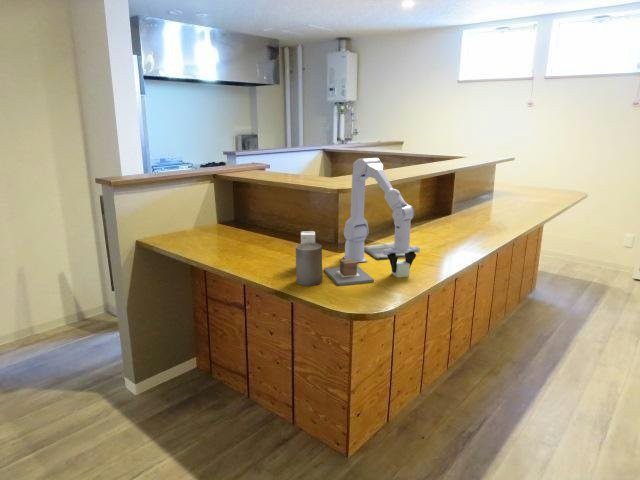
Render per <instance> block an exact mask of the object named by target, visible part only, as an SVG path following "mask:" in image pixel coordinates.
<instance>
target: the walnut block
mask: <svg viewBox="0 0 640 480" xmlns="http://www.w3.org/2000/svg"><path fill="white" fill-rule="evenodd" d="M357 266H358V262H356V261H355V260H353V259H345V258H343V259H340V260H339V267H340V273H341V274H343V275H344V276H351V275H357Z"/></svg>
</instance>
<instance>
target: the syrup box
mask: <svg viewBox="0 0 640 480" xmlns="http://www.w3.org/2000/svg"><path fill="white" fill-rule="evenodd" d="M302 243H316V232H315V231H313V230H311V231H309V230H308V231H307V230H306V231H300V244H302Z"/></svg>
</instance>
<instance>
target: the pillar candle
mask: <svg viewBox="0 0 640 480" xmlns="http://www.w3.org/2000/svg"><path fill="white" fill-rule="evenodd" d="M295 274H296V275H295V279H296V284H298V285H302V286H304V287H305V286H306V287H311V286H317V285H320V284H321V283H322V282H323V248H322V244H319V243H317V242H315V243H302V244H301V243H299V244H298V243H297V244H296V245H295Z"/></svg>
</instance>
